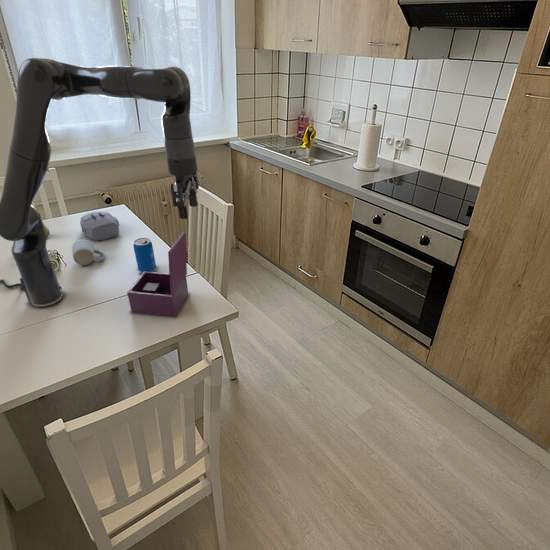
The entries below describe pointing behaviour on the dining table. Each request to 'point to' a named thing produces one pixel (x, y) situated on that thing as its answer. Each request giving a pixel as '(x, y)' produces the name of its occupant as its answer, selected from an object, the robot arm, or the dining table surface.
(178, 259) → the lid
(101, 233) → the grey rounded bag
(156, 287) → the block
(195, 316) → the dining table surface
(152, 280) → the file box
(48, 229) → the fennel bulb
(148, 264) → the beverage can
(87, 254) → the ceramic mug
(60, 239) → the dining table surface
